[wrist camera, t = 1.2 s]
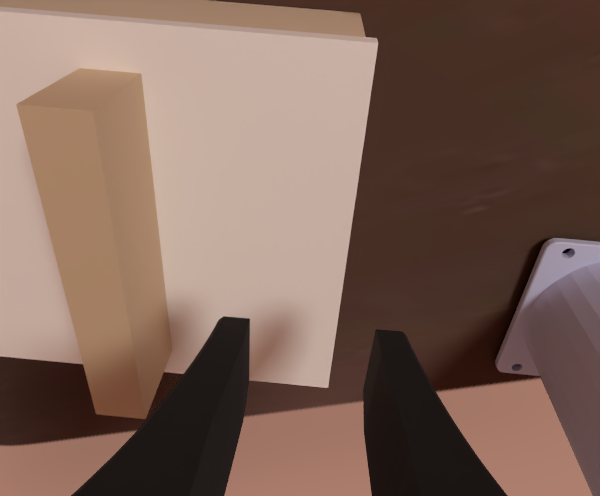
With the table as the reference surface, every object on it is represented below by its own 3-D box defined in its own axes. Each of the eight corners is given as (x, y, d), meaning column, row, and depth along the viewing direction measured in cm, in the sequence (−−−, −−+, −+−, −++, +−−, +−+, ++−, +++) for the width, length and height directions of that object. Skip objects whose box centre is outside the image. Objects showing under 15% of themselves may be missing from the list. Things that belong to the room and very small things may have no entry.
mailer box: (359, 13, 17) (366, 43, 13) (326, 287, 24) (323, 365, 19) (-98, -25, 17) (-238, -8, 13) (-3, 256, 24) (-76, 327, 20)
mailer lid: (376, 37, 12) (388, 76, 9) (328, 375, 19) (326, 459, 16) (-261, -16, 13) (-447, 4, 10) (-84, 336, 20) (-160, 411, 17)
